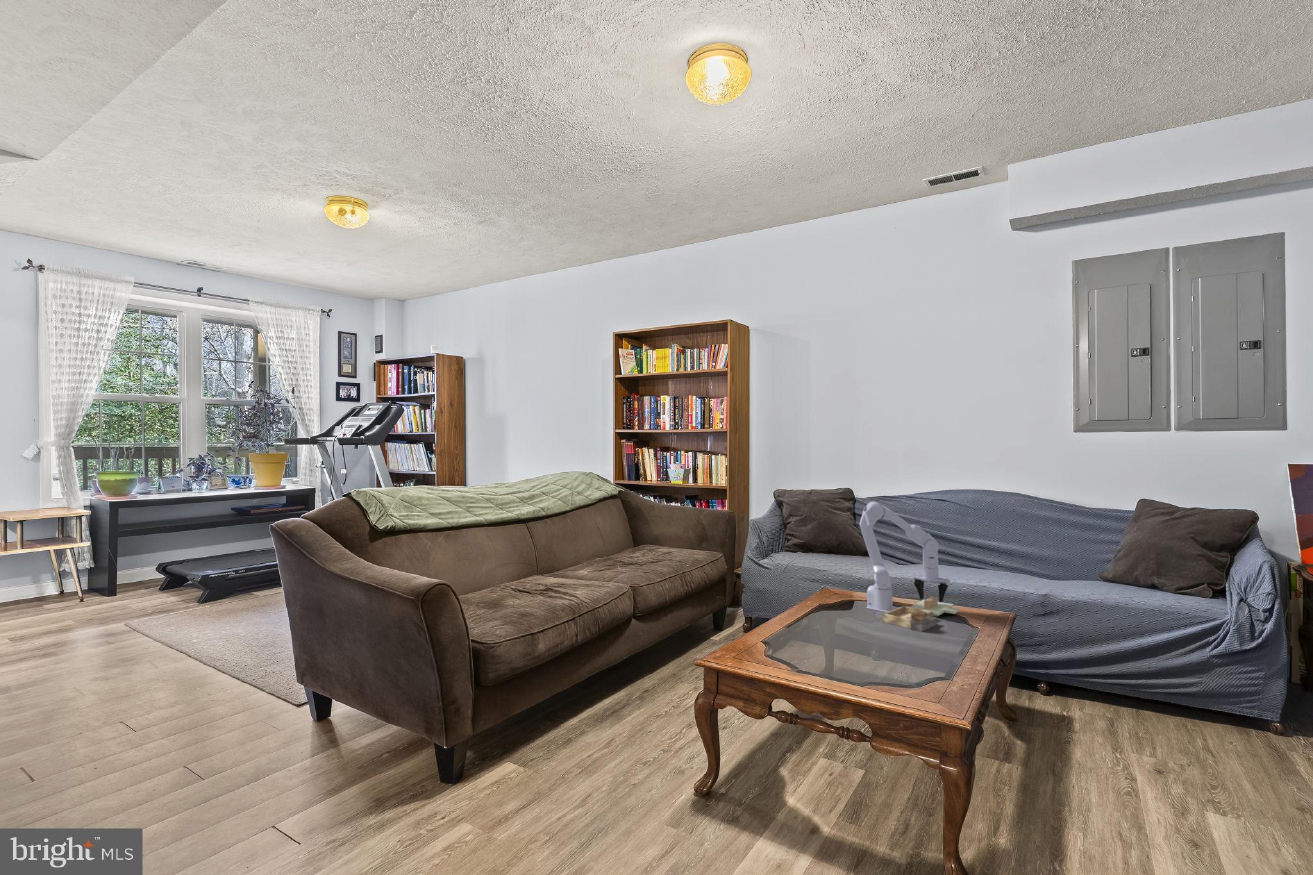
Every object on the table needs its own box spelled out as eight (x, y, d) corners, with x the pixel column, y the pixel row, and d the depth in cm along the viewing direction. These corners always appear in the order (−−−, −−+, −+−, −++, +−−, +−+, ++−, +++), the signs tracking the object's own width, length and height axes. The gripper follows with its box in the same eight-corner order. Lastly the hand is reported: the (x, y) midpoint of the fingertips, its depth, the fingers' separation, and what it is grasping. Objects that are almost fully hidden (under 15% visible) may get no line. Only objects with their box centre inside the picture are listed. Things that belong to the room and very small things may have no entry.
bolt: (911, 618, 232) (911, 612, 232) (916, 616, 234) (916, 610, 234) (921, 620, 229) (921, 614, 228) (927, 618, 231) (926, 612, 231)
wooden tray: (881, 622, 241) (881, 612, 241) (903, 612, 252) (903, 603, 252) (921, 631, 228) (921, 621, 228) (943, 621, 239) (943, 611, 239)
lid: (908, 612, 252) (908, 600, 252) (923, 603, 264) (923, 592, 264) (950, 619, 241) (949, 607, 241) (964, 610, 253) (963, 598, 252)
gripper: (908, 566, 256) (909, 599, 256) (945, 571, 246) (946, 605, 246) (915, 563, 261) (916, 595, 261) (951, 567, 251) (952, 601, 251)
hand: (931, 600), depth 254 cm, fingers open, 7 cm apart
